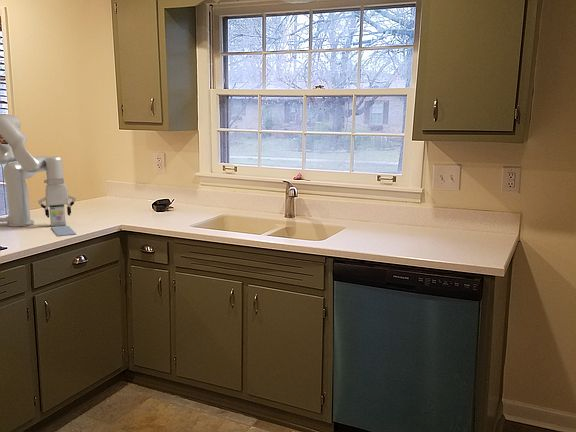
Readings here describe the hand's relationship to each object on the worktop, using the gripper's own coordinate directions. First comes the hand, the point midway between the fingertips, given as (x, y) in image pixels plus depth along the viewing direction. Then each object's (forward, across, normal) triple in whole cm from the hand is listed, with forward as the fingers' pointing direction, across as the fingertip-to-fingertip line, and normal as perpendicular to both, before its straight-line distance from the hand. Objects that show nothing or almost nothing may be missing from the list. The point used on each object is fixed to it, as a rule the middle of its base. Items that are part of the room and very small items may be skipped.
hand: (58, 216), depth 268 cm
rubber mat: (+5, 0, -15) cm, 16 cm away
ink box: (+5, 0, 0) cm, 5 cm away
